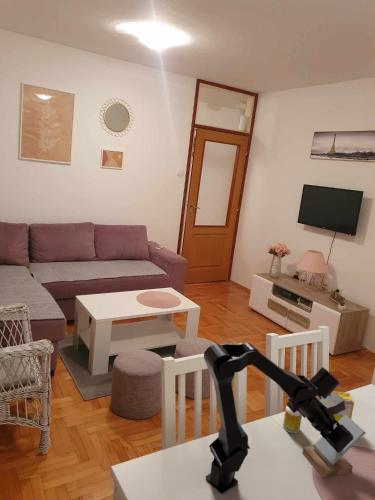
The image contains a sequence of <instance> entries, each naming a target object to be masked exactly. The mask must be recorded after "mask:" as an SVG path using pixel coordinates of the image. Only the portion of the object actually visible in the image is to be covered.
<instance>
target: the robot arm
mask: <svg viewBox="0 0 375 500" xmlns="http://www.w3.org/2000/svg"><path fill="white" fill-rule="evenodd" d="M203 359H204V362H205V364H206V368H207V369H208V372H209V374H210V376H211V378H212V380H213V384H214V391H215V395H216V397H215V398H216V401H217V408H218V415H219V420H220V426H219V429H218V437H216V438H215V439H214V440H213V441H212V443H210V444H209V445H208V448H209V450H210V452H211V454H212V456H213V460H212V461H211V465H210V473H209V474H207V475H206V476H205V479H206V481H208V483H209V484H210V485H211V486H213V487H214V488H215V489H216V490H217V491H218V492H219V493H220V494H224V493H225V492H228V491H229V490H230V489H232V488H234V487H235V486H236V485H238V483H239V480H238V479H236V478H235V475H236V472H239V471H240V470H241V467H242V465H243V463H244V462H245V459H246V457H248V455H249V450H250V449H251V446H250V445H249V437H248V433H246V430H245V429H244V428H243V427H242V425H241V424H240V422H239V420H238V415H237V410H236V409H237V408H236V403H235V396H234V395H235V394H234V390H233V380H234V378H235V374H236V373H239V372H240V373H241V372H242V371H243V370H244V369H246V368H248V366H251V365H252V366H253V367H255V368H256V369H257V370H258V371H260V372H261V373H262V374H264V376H266V377H268V378H269V379H270V380H272V381H273V382H274V383H275V384H276V385H277V386H278V388H279V389H280V390H281V391H282V392H283V393H285V395H286V396H287V397H288V401H287V402H286V407H287V406H288V407H289V408H290V409H291V410H292V412H293V413H295V412H296V411H297V410H298V411H299V413H300V414H301V415H302V417H303V418H306V419H307V421H308V422H309V423H310V424H311V426H312V427H313V428H314V429H315V431H318V432H319V435H321V437H323V438H324V439H326V441H327V442H328V443H329V444H330V445H331V446H332V447H333V448H334V450H335V451H336V452H341V451H342V450H343V449H344V448H345V447H346V446H347V445H348V444H349V443H350V442H351V441H352V440H353V435H352V434H351V432H349V431H348V430H347V429H346V428H345V427H344V426H343V425H340V424H339V423H338V422H337V421H336V420H335V417H334V415H335V414H337V413H339V412H341V411H344V410H345V409H346V407H345V403H344V399H343V398H342V397H341V396H340V395H339V394H337V393H336V392H337V391H336V392H333V391H335V390H336V389H337V388H338V387H339V386H340V384H341V383H340V382H339V380H338V379H337V378H335V377H334V376H333V375H332V374H331V373H330V372H329V371H328V370H327V369H326V368H325V367H324V366H322V367H321V368H320V369H319V370H318V371H317V372H316V373H315V375H313V377H311V378H310V379H309V378H307V377H306V376H305V375H302V374H296V373H294V372H293V371H290V370H288V369H287V368H282V367H280V366H279V365H277V363H275V362H273V361H272V360H271V359H269V357H267V356H266V355H265V354H264V353H262V352H261V351H259V350H258V349H257V348H256V347H255V346H254V345H253V344H252V343H251V342H243V343H242V342H241V343H226V342H225V343H220V344H217V343H215V344H211V345H209V346H208V347H207V348H206V350H205V351H204V352H203ZM317 397H318V398H319V399H318V398H317Z"/></svg>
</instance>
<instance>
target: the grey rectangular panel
mask: <svg viewBox="0 0 375 500" xmlns="http://www.w3.org/2000/svg"><path fill="white" fill-rule="evenodd" d="M338 423H339V424H340V425H343V426H344V427H345V428H346V429H347V430H348V431H349V432H351V434H352V435H353V440H352V441H351V442H350V443H349V444H348V445H347V446H346V447H345V448H344V449H343V450H342V451H341V452H336V451H335V450H334V448H333V447H332V446H331V445H330V444H329V443H328V442H327V441H326V439H324V438H323V437H322V436H321V437H320V438H319V439H318V440H317V441H316V442H315V443H314V444H313V445H312V446H313V447H314V448H315V449H316V451H317V452H318V453H319V454H320V455H321V456H322V457H323V458H324V460H325V461H326V462H327V463H328V464H329V465H330V466H331V467H332V466H333V465H334V464H335V463H336V462H337V461H338V460H339V459H340V458H341V457H342V456H343V457H344V455H345V454H346V453H347V452H348V451H349V450H350V449H351V448H352V447H353V446H354V445H355V444H357V442H359V440H360V439H361V438H363V436H365V435H366V431H365V430H364V429H363V428H362V427H360V426H359V425H358V424H357V423H356V422H355V421H354V420H352V418H351V419H350V418H349V417H348V416H347V415H346V414H345V415H344V416H343V417H342V418H341V419H340V420H339V421H338Z"/></svg>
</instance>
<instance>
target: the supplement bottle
mask: <svg viewBox="0 0 375 500" xmlns="http://www.w3.org/2000/svg"><path fill="white" fill-rule="evenodd" d="M283 417H284V418H283V423H282V426H283V429H284V430H285V431H287V432H289V433H291V434H296V433H299V432H300V428H301V423H302V417H303V416H302V415H301V414H300V413H299V411H298V410H297V411H296V412H295V413H293V412H292V410H291V409H290V408H289V407H288V406H287V405H286V407H285V412H284V416H283Z"/></svg>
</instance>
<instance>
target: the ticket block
mask: <svg viewBox="0 0 375 500" xmlns="http://www.w3.org/2000/svg"><path fill="white" fill-rule="evenodd" d="M302 454H303V456H304V458H306V459H307V461H308V462H309V464H310V465H312V466H313V468H314V469H315V471H316V472H317V473H318V474H319V475H320V477H321V478H322V479H323V478H329V477H334V476H335V477H336V476H339V475H345V474H349V473H352V471H353V465H352V464H351V463H350V462H349V461H348V460H347V459H346V458H345V456H344V455H343V456H342V457H341V458H340V459H339V460H338V461H337V462H336V463H335V464H334V465H333V466H332V467H331V466H330V465H329V464H328V463H327V462H326V461H325V460H324V458H323V457H322V456H321V455H320V454H319V453H318V452H317V451H316V449H315V448H314V447H313V445H309V446H303V449H302Z"/></svg>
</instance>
